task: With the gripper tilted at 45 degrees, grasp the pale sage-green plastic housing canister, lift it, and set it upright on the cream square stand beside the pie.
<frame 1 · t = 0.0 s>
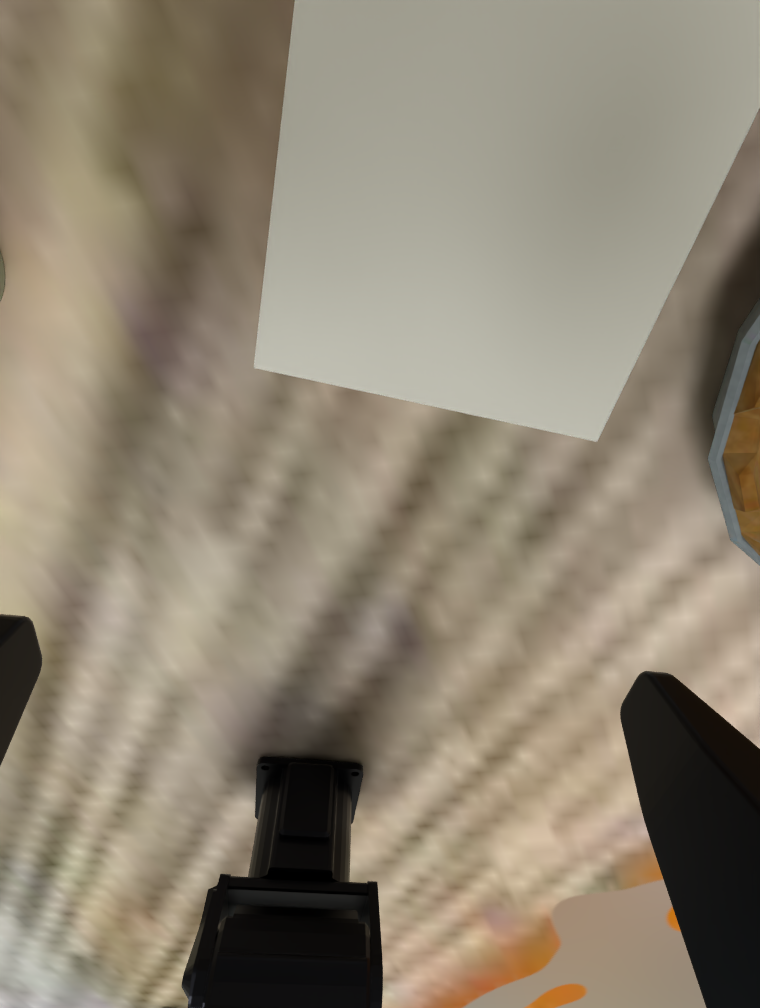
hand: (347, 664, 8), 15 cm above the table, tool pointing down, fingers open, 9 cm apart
stand: (474, 202, 18), on the table
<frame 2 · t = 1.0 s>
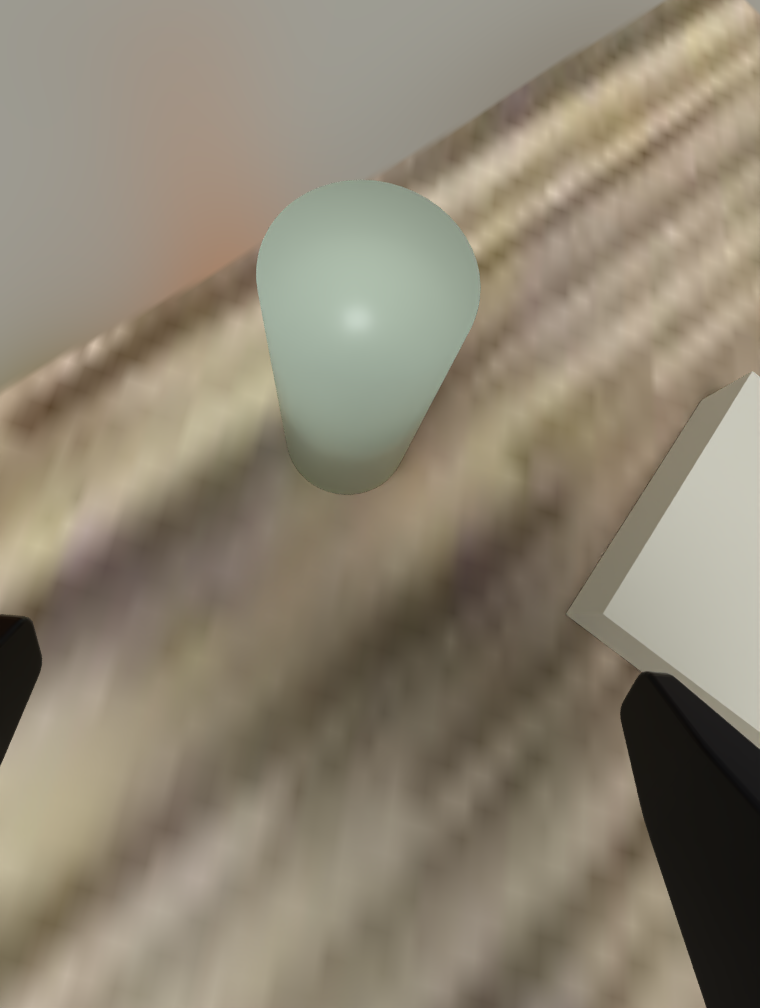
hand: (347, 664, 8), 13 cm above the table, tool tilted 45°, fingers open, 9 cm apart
stand: (751, 585, 23), on the table
housing canister: (346, 436, 23), on the table
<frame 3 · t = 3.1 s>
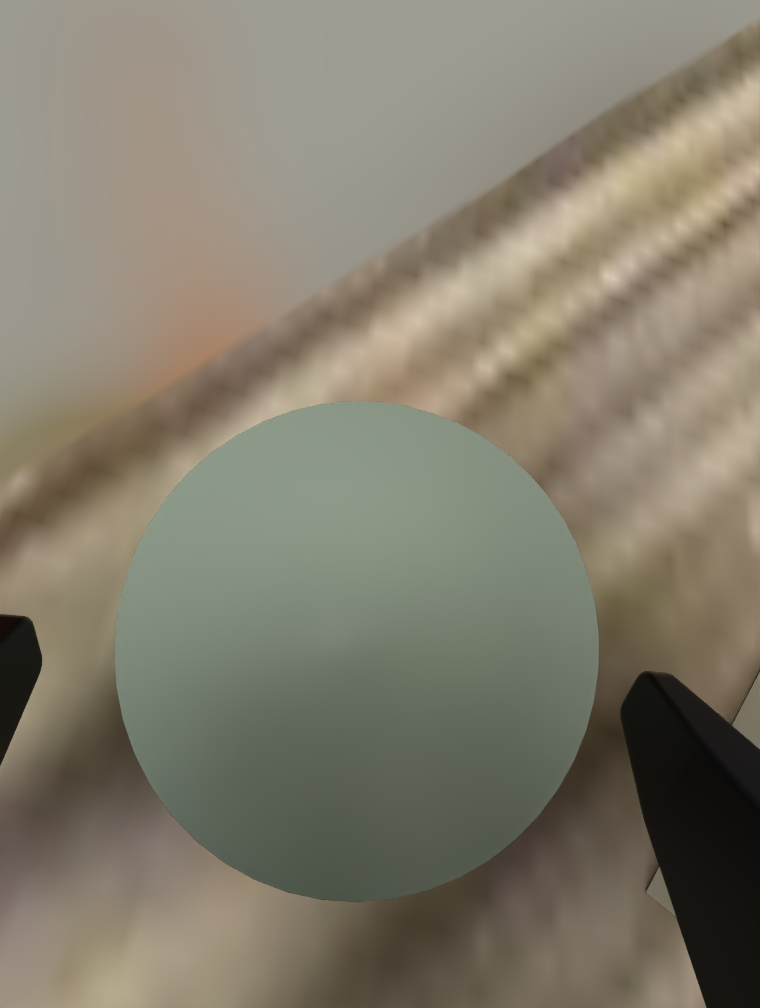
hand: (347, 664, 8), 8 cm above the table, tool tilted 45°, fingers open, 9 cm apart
housing canister: (335, 628, 16), on the table
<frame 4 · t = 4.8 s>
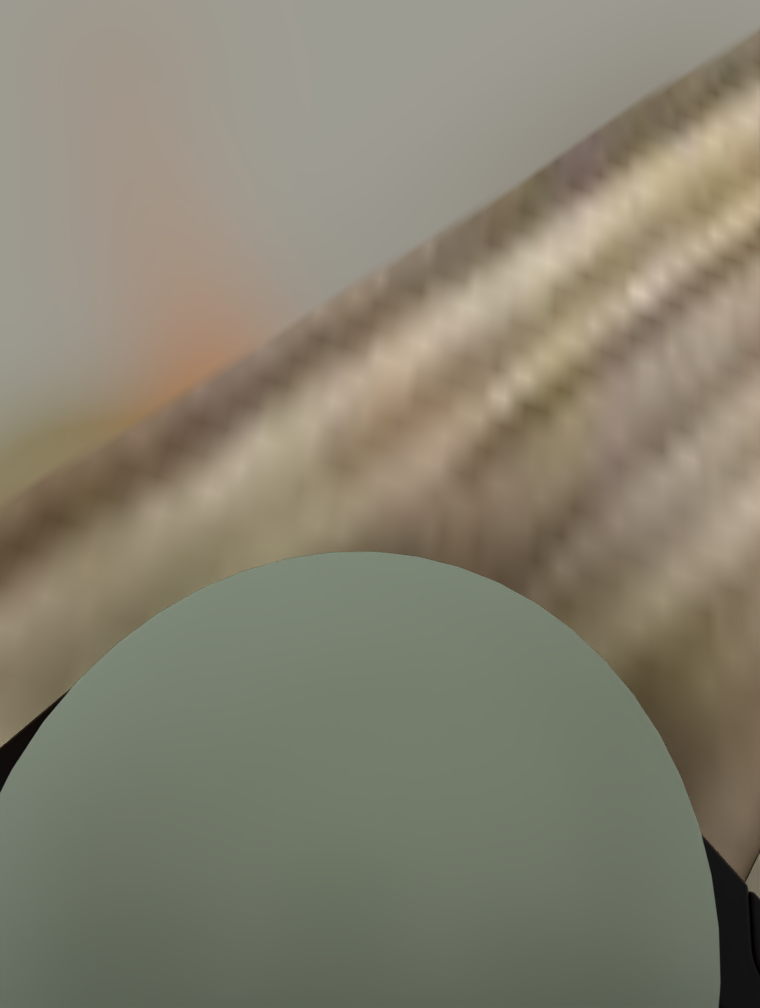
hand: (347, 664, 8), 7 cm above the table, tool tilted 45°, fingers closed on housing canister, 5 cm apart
housing canister: (329, 701, 14), on the table, touching gripper
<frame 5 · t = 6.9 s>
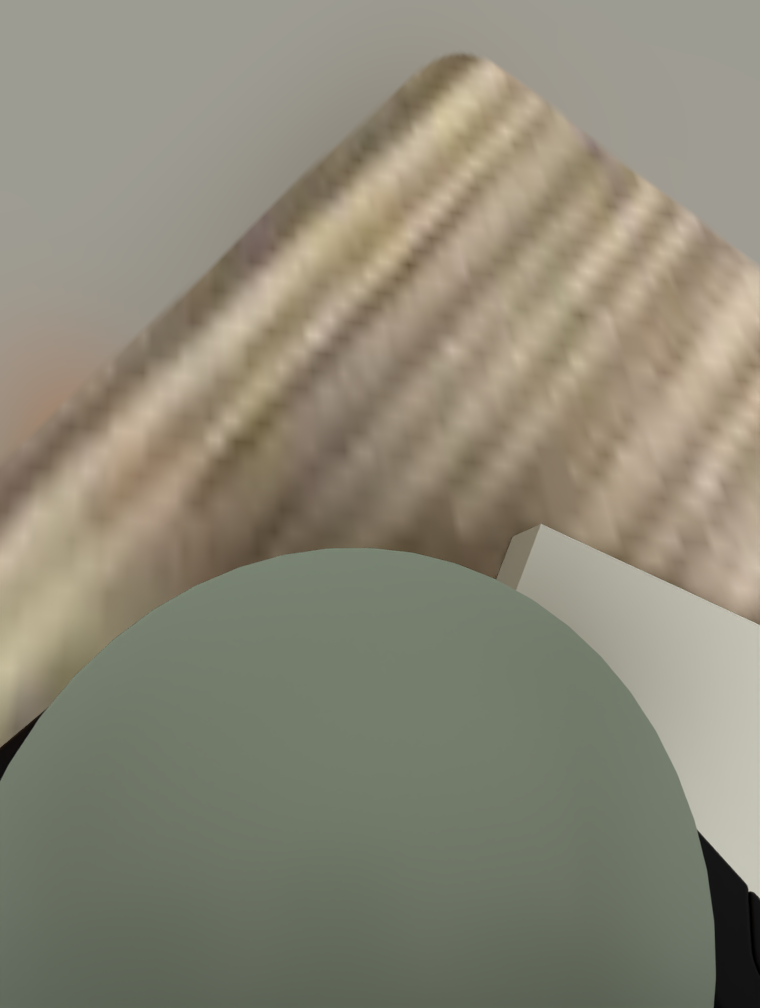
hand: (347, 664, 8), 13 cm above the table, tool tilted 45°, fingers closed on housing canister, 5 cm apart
stand: (597, 736, 22), on the table
housing canister: (328, 700, 14), point 7 cm above the table, touching gripper
when the fingers open (10 cm above the table, at t = 9.3 s): housing canister stays where it is, resting on stand.
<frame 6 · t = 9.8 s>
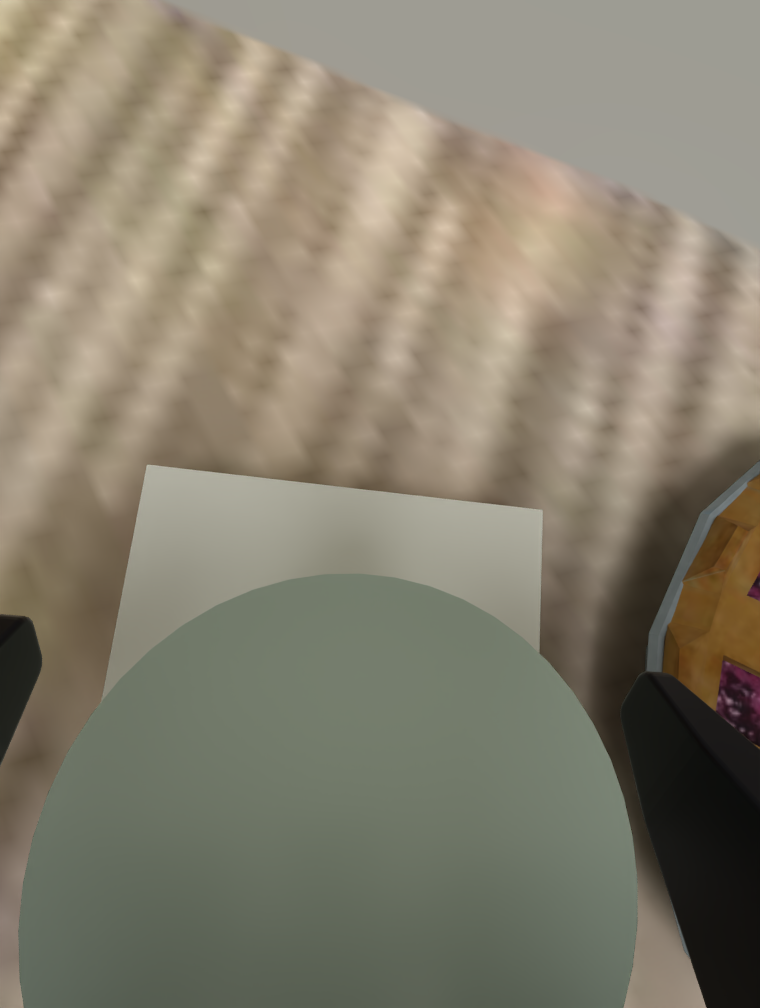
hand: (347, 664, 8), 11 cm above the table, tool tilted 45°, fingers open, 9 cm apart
stand: (327, 684, 18), on the table
housing canister: (328, 697, 15), point 3 cm above the table, touching stand
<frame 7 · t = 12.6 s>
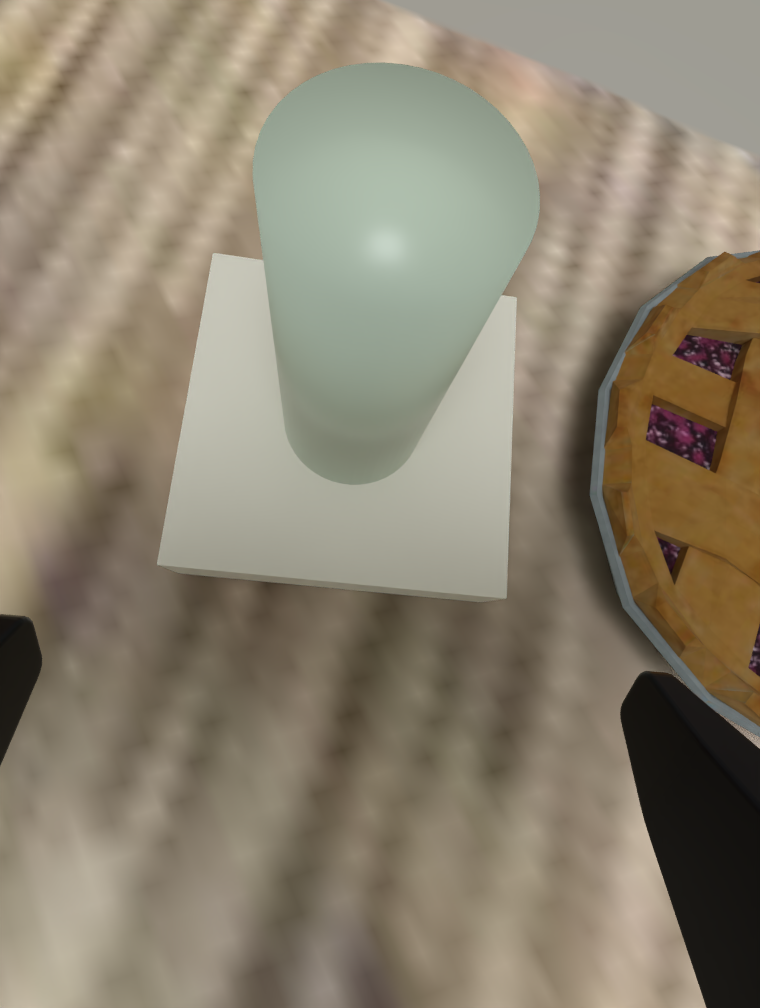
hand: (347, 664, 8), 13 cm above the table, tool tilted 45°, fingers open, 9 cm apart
stand: (349, 444, 23), on the table
housing canister: (353, 418, 20), point 3 cm above the table, touching stand
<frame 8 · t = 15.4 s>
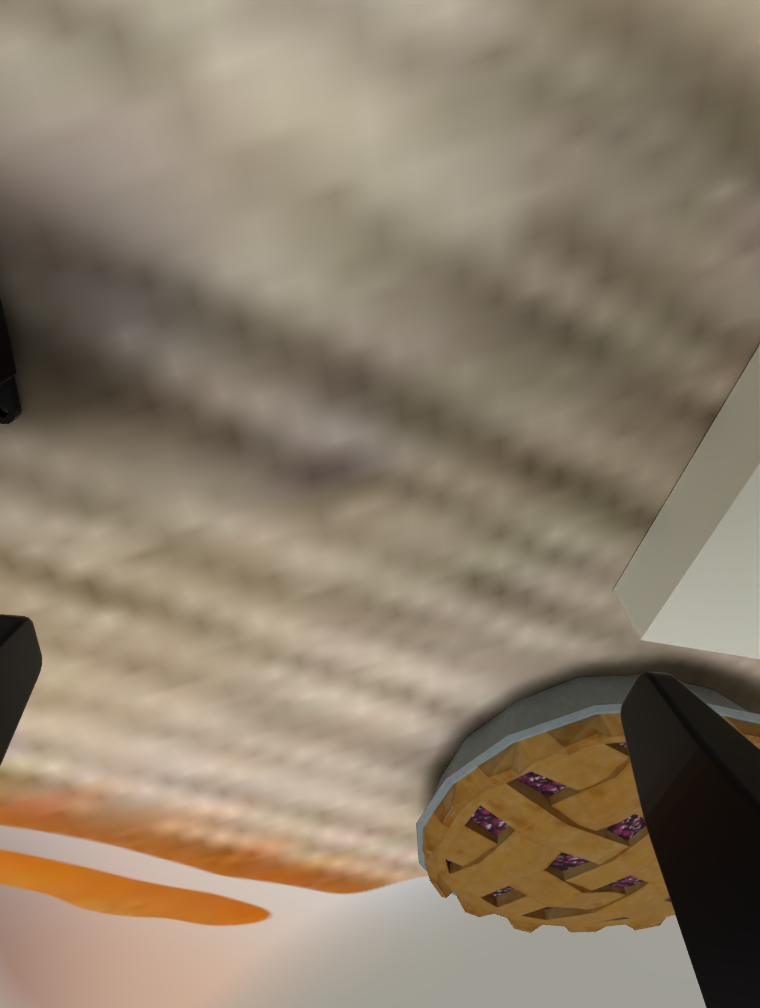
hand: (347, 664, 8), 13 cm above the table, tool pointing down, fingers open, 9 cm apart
pie: (593, 774, 33), on the table
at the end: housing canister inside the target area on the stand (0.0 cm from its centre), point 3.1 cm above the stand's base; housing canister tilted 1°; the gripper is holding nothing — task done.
